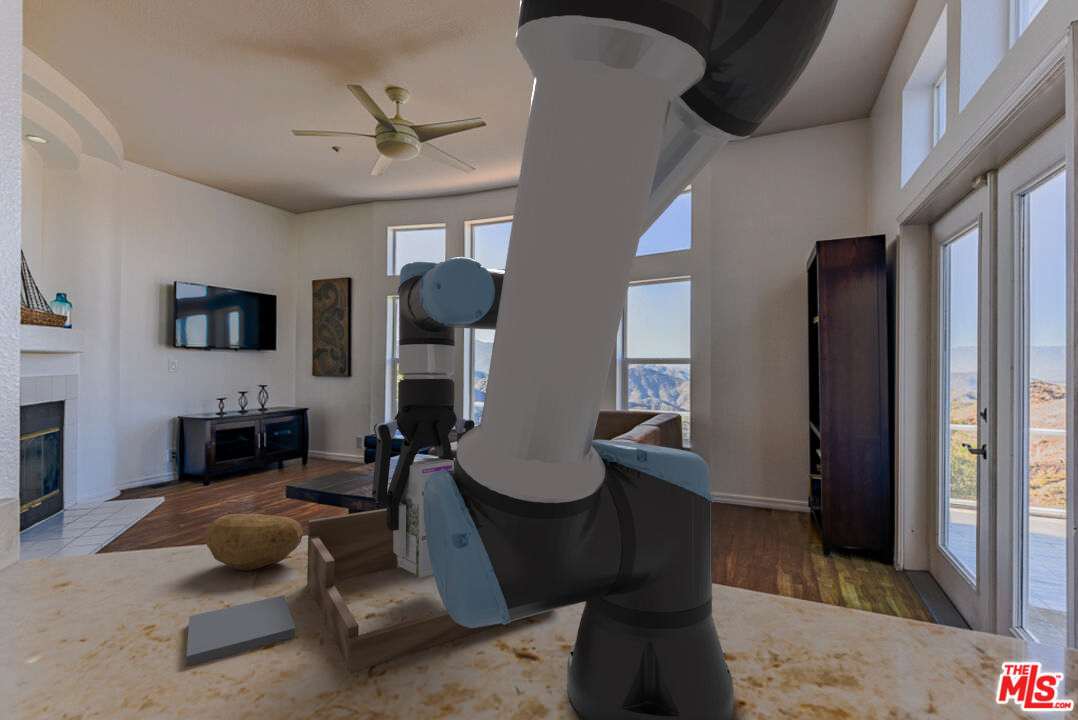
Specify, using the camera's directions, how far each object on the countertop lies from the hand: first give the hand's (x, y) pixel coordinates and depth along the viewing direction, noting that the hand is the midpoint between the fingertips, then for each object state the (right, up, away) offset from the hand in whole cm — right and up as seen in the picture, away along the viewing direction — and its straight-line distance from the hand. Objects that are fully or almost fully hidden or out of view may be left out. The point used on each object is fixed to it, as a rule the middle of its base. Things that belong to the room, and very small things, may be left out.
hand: (425, 548), depth 66 cm
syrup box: (0, -3, 0) cm, 3 cm away
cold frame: (0, -6, 0) cm, 6 cm away
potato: (-29, -7, +10) cm, 31 cm away
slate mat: (-19, -6, -9) cm, 22 cm away
